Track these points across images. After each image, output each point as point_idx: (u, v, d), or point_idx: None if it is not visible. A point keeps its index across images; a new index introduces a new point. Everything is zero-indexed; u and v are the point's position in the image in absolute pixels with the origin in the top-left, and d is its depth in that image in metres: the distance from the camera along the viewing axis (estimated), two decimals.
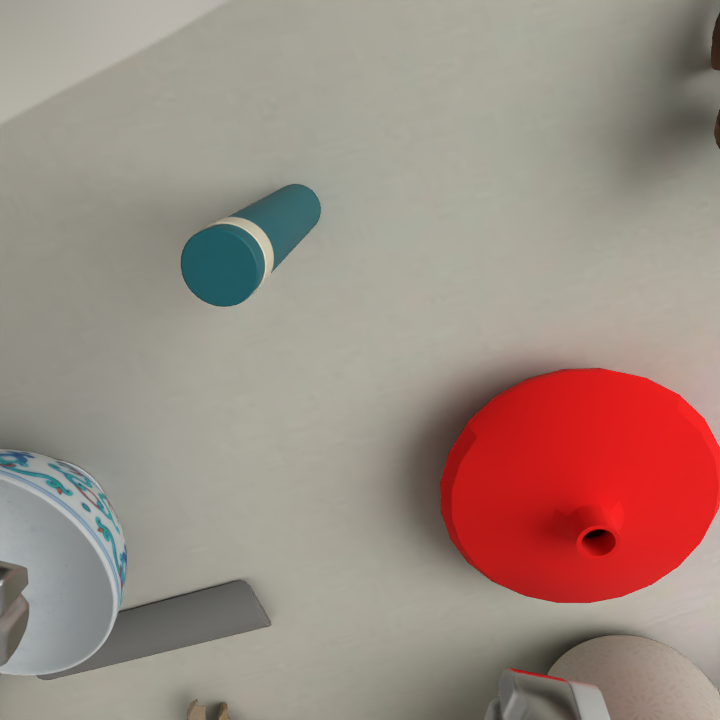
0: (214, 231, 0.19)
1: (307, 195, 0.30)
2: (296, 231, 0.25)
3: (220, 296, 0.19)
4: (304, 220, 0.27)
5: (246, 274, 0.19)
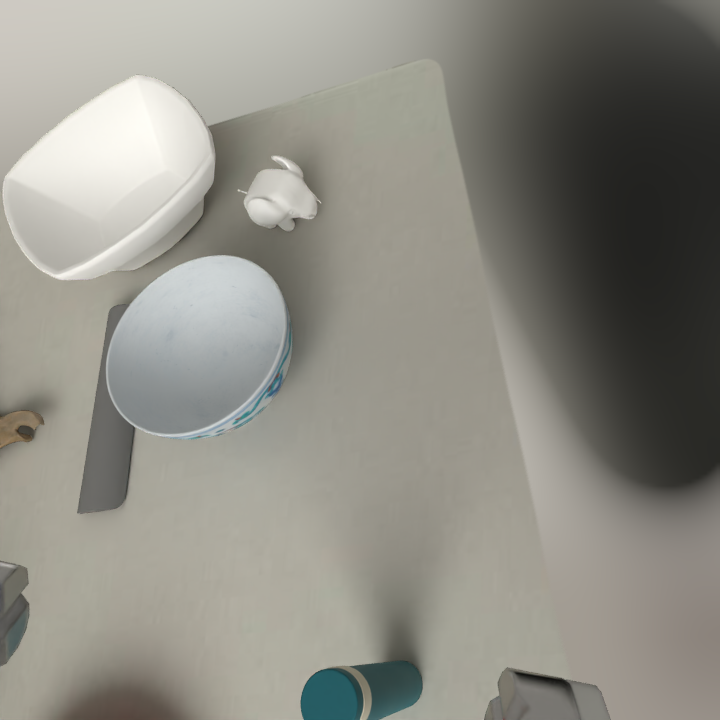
0: (353, 713, 0.25)
1: (405, 707, 0.35)
2: None
3: (309, 693, 0.25)
4: None
5: None
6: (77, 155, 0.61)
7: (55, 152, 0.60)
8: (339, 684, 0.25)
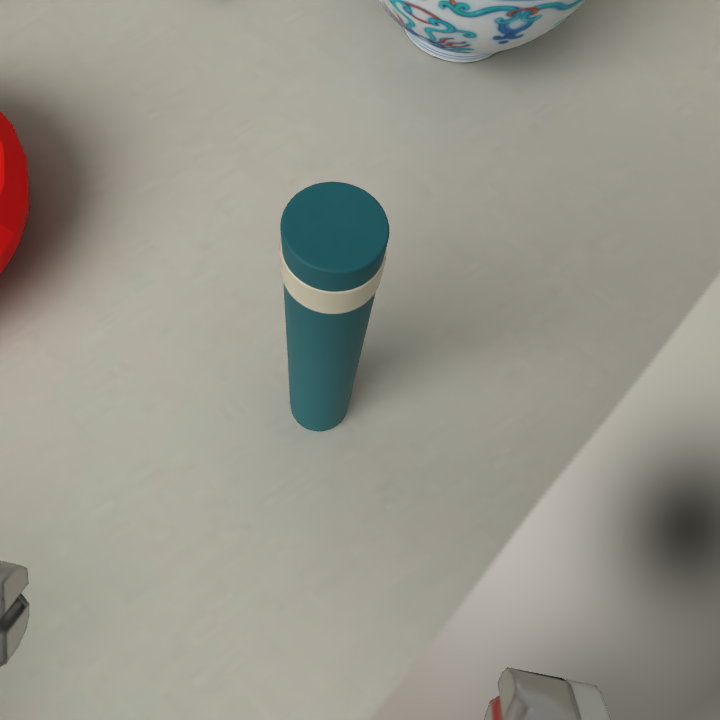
0: (356, 265, 0.14)
1: (308, 417, 0.25)
2: (290, 354, 0.20)
3: (322, 194, 0.14)
4: (292, 378, 0.22)
5: (297, 230, 0.14)
6: None
7: None
8: (370, 223, 0.14)
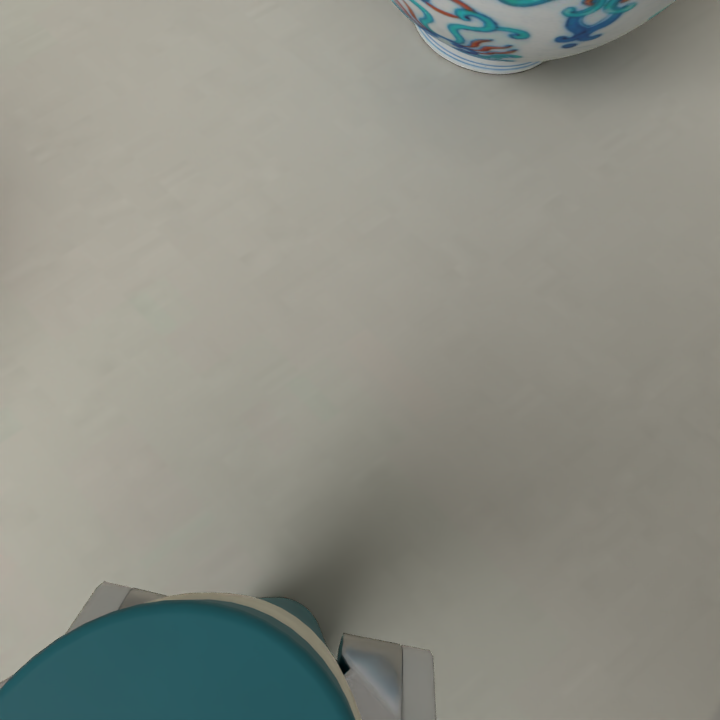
0: None
1: None
2: None
3: (113, 676, 0.04)
4: None
5: None
6: None
7: None
8: None
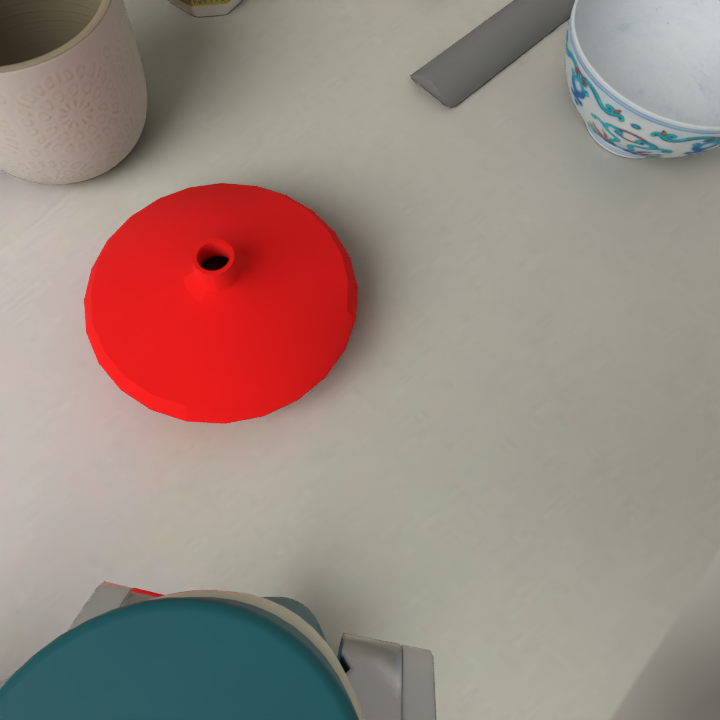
0: None
1: None
2: None
3: (115, 674, 0.04)
4: None
5: None
6: None
7: None
8: None
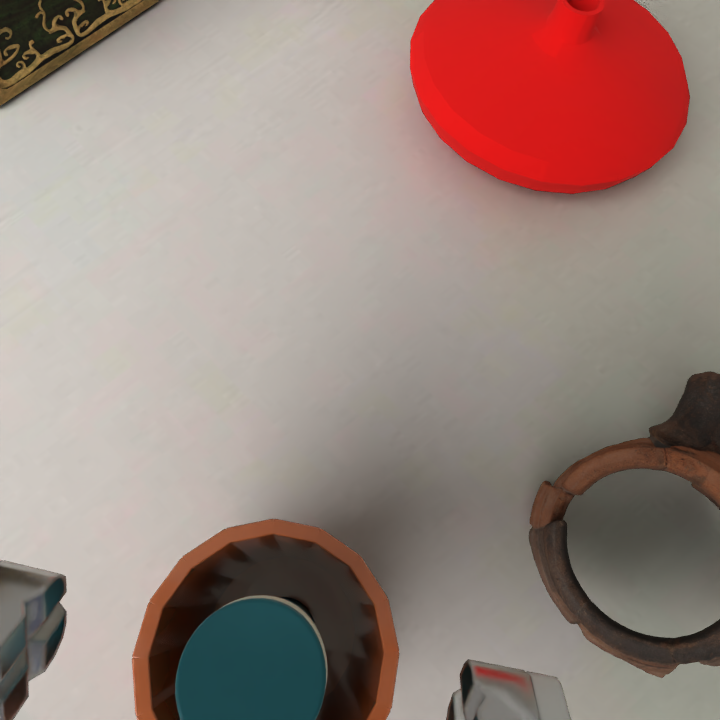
0: None
1: None
2: None
3: (235, 624, 0.10)
4: None
5: (198, 693, 0.10)
6: None
7: None
8: (300, 672, 0.10)
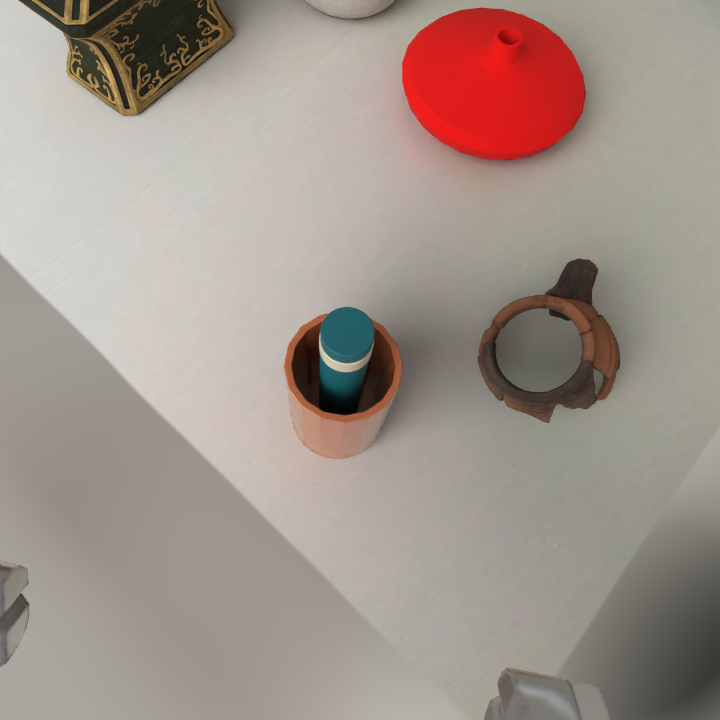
0: (358, 352, 0.28)
1: None
2: (321, 386, 0.34)
3: (340, 314, 0.28)
4: (322, 399, 0.36)
5: (329, 335, 0.28)
6: None
7: None
8: (365, 329, 0.28)
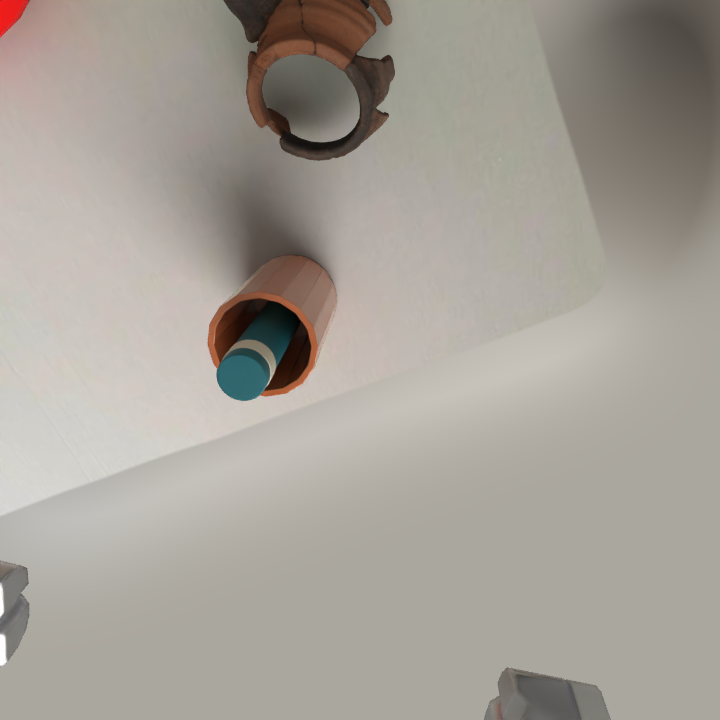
0: (264, 378, 0.30)
1: None
2: None
3: (223, 377, 0.30)
4: None
5: (239, 394, 0.30)
6: None
7: None
8: (244, 363, 0.30)
